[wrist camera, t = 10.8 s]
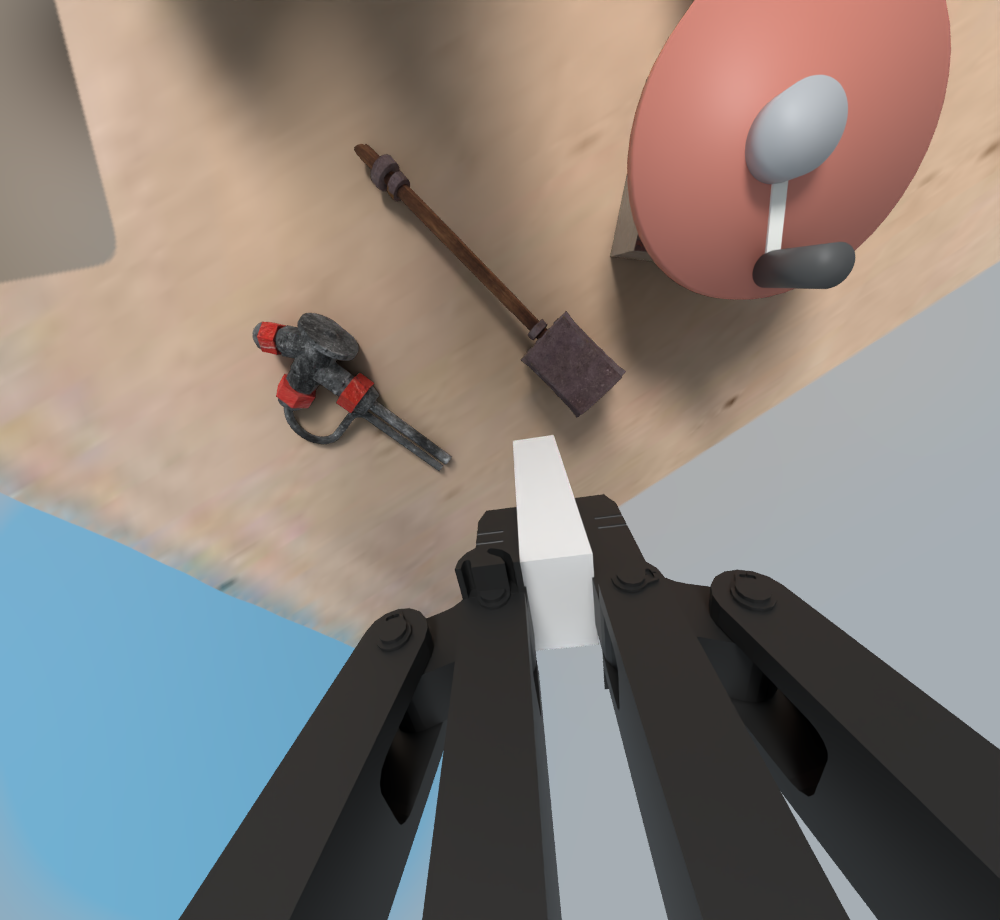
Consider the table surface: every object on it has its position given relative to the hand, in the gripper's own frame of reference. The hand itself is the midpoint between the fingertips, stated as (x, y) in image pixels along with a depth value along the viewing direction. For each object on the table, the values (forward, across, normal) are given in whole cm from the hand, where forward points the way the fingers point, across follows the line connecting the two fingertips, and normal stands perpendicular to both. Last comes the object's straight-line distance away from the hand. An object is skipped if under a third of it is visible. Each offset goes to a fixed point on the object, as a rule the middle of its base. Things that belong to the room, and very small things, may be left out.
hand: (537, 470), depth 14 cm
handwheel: (+24, -20, -12) cm, 33 cm away
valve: (+33, +21, +5) cm, 39 cm away
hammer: (+33, +2, -7) cm, 34 cm away
